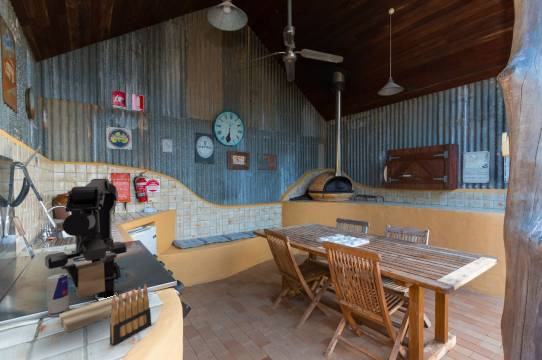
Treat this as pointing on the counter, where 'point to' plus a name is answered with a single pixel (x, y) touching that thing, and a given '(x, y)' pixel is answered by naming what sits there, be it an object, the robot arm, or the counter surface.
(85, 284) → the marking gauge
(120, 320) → the ammunition clip
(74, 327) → the maple board
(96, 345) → the counter surface
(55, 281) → the energy drink
